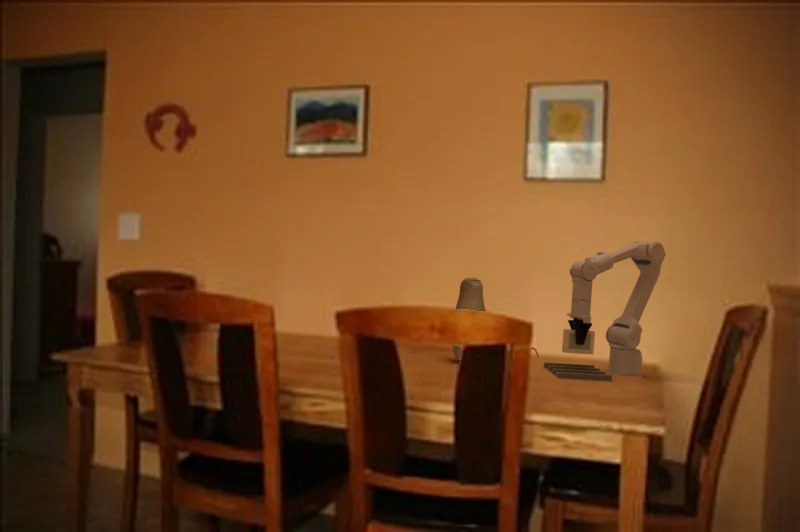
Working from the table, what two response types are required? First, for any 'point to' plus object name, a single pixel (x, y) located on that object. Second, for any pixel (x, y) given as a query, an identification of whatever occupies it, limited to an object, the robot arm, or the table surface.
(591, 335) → the picture frame
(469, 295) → the grey tall rounded piece
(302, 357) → the table surface
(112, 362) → the table surface
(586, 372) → the ridged panel
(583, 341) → the robot arm
